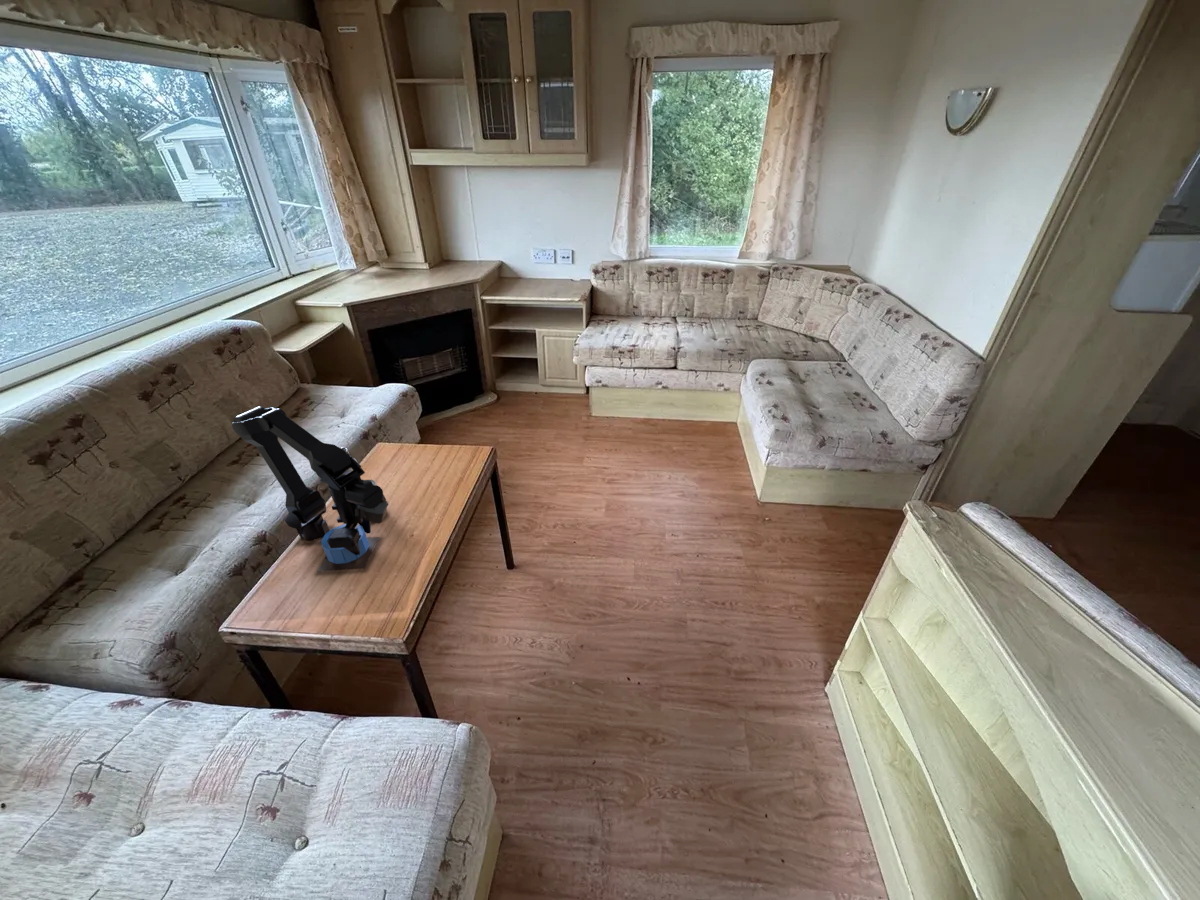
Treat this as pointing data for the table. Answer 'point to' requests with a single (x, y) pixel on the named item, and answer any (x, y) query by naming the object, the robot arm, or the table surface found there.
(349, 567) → the tape stand
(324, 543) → the tape roll
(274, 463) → the robot arm
